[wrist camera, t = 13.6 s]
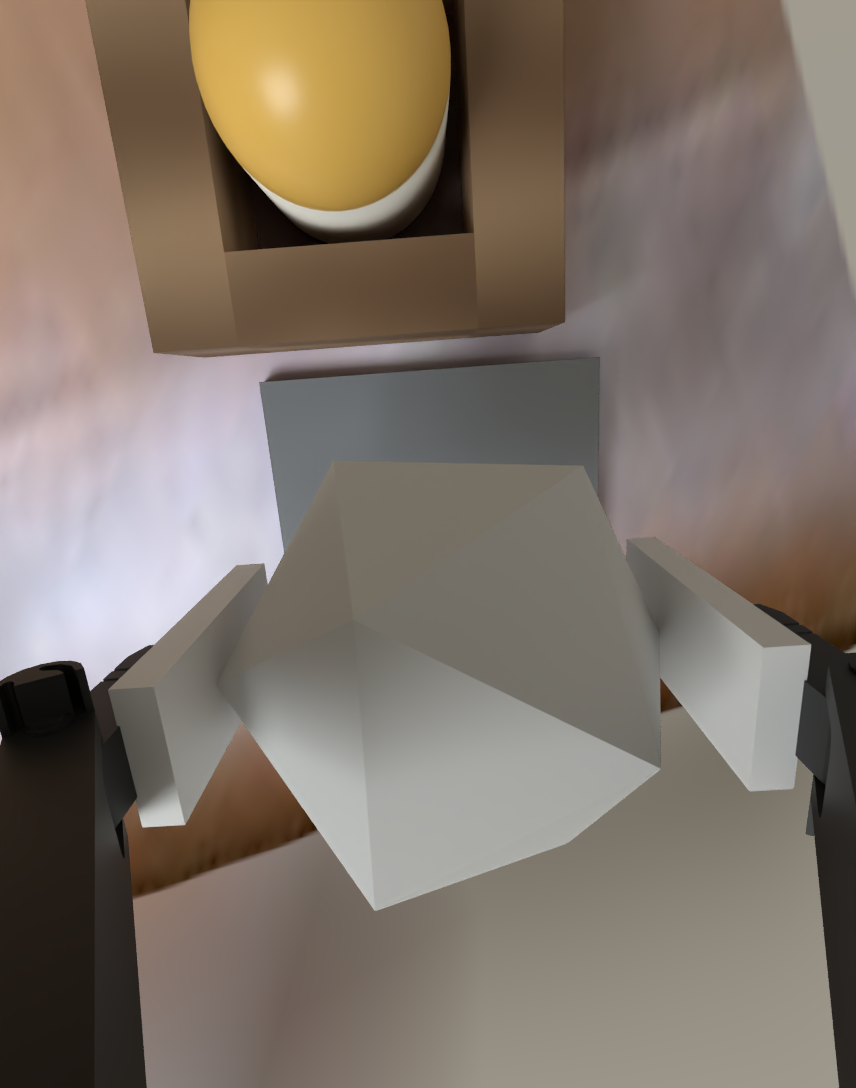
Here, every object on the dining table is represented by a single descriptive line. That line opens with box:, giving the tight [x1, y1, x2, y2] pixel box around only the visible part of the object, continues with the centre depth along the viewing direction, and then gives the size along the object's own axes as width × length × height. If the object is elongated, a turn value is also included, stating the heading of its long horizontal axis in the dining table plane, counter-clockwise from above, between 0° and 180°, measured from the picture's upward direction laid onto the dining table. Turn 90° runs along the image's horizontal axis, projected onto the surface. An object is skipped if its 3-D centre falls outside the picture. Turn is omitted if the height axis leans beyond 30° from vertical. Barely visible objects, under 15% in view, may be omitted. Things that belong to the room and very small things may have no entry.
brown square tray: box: [85, 0, 565, 357], centre depth 17 cm, size 12×12×4 cm
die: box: [217, 461, 661, 911], centre depth 13 cm, size 8×9×10 cm
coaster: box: [259, 357, 600, 553], centre depth 22 cm, size 12×12×1 cm
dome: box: [189, 0, 451, 244], centre depth 14 cm, size 6×6×7 cm
